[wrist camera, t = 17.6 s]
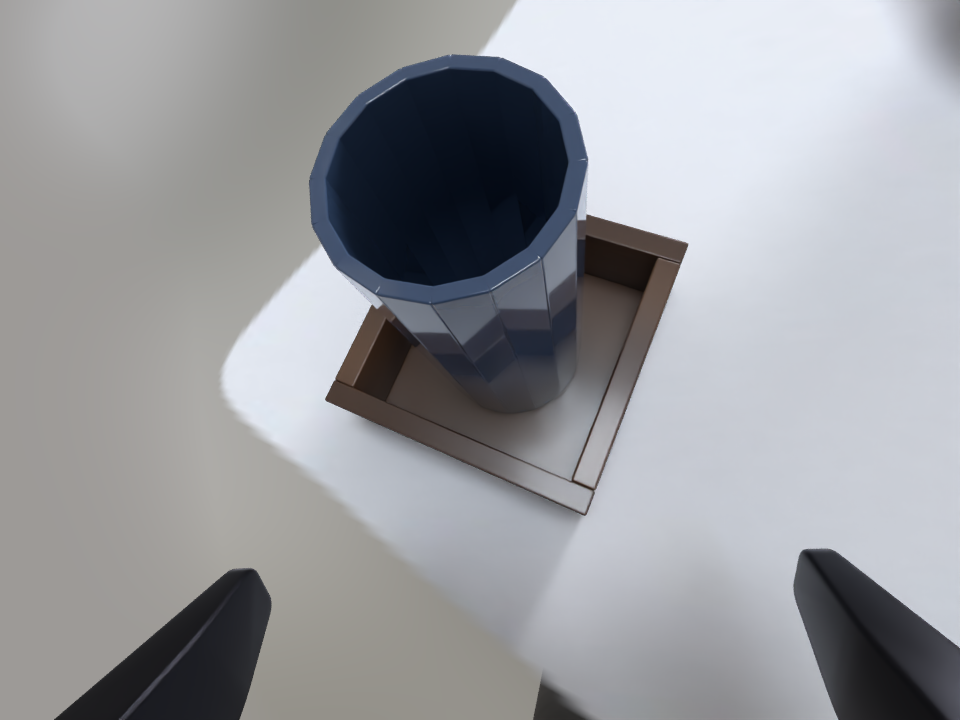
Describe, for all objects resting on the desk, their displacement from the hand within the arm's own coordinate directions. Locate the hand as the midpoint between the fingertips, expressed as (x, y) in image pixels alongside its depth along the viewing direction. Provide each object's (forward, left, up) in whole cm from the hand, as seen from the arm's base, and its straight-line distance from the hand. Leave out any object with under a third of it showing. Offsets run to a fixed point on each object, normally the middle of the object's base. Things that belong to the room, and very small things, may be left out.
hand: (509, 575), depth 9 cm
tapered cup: (+7, +4, -13) cm, 15 cm away
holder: (+7, +4, -14) cm, 16 cm away
